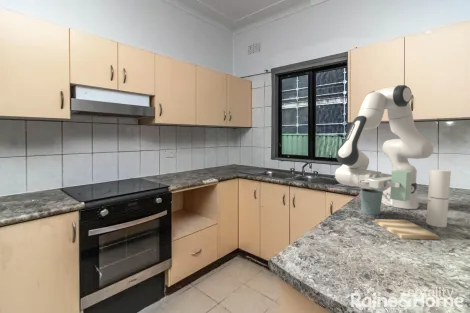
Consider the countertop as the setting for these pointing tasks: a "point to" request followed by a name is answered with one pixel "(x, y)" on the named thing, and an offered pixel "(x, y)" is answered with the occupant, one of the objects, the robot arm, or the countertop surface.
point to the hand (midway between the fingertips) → (403, 184)
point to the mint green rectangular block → (405, 189)
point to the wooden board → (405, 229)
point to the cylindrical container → (438, 197)
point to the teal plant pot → (371, 201)
